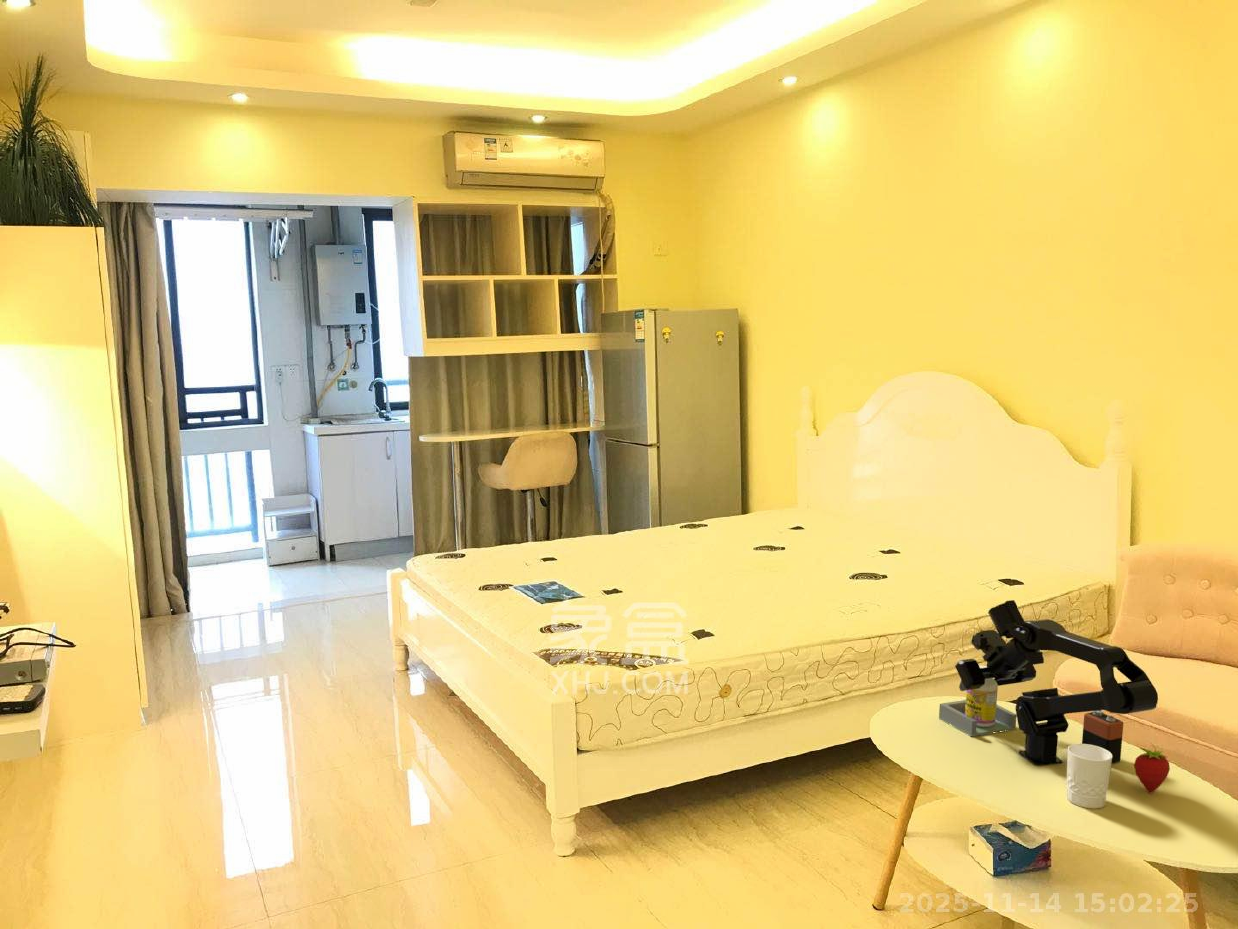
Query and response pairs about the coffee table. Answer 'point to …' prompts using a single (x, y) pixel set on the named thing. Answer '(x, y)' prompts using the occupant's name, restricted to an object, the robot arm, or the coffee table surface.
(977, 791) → the coffee table surface
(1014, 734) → the coffee table surface
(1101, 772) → the white cup
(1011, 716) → the grey tray
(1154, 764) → the strawberry
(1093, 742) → the battery
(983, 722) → the supplement bottle
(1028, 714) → the robot arm
